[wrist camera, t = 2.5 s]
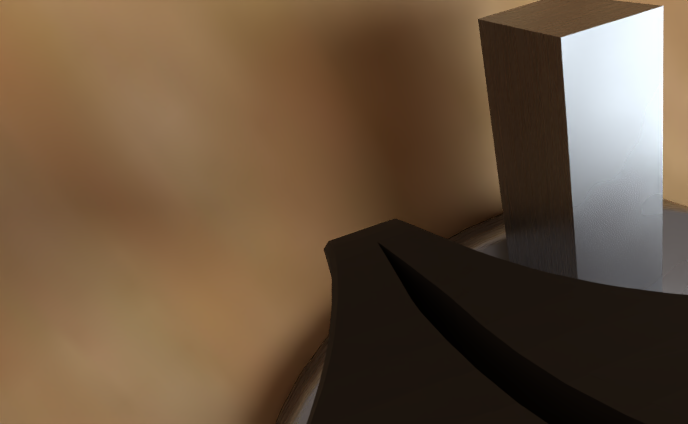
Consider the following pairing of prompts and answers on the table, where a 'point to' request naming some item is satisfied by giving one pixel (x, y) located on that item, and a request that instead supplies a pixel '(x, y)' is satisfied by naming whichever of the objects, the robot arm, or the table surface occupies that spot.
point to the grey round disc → (490, 238)
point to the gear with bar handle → (579, 137)
